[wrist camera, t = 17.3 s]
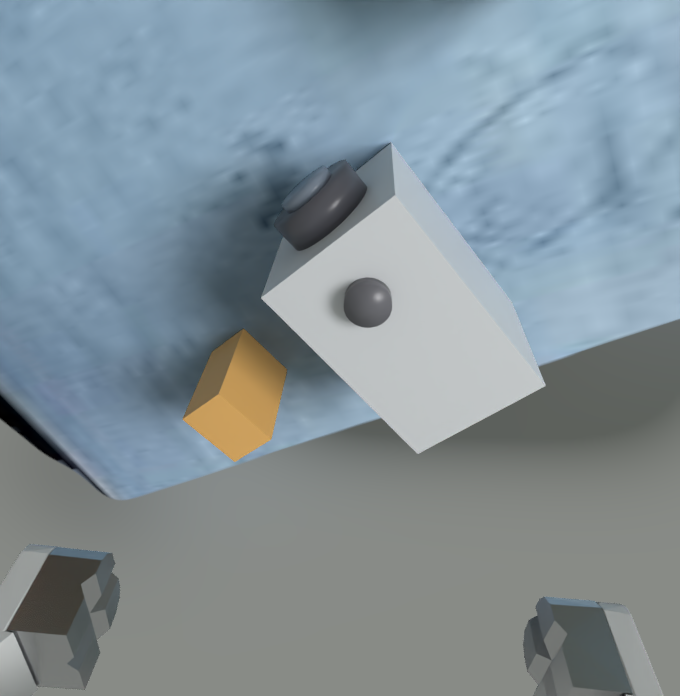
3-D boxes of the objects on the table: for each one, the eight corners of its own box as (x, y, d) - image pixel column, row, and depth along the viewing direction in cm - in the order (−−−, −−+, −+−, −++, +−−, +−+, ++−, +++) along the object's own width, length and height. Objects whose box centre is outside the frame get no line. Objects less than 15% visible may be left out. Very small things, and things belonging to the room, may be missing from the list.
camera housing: (408, 365, 49) (416, 465, 39) (260, 203, 42) (223, 276, 32) (511, 302, 45) (549, 395, 35) (367, 111, 38) (364, 161, 28)
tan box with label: (251, 393, 52) (230, 464, 45) (207, 354, 50) (178, 422, 43) (287, 369, 50) (271, 439, 43) (243, 328, 48) (218, 394, 41)
